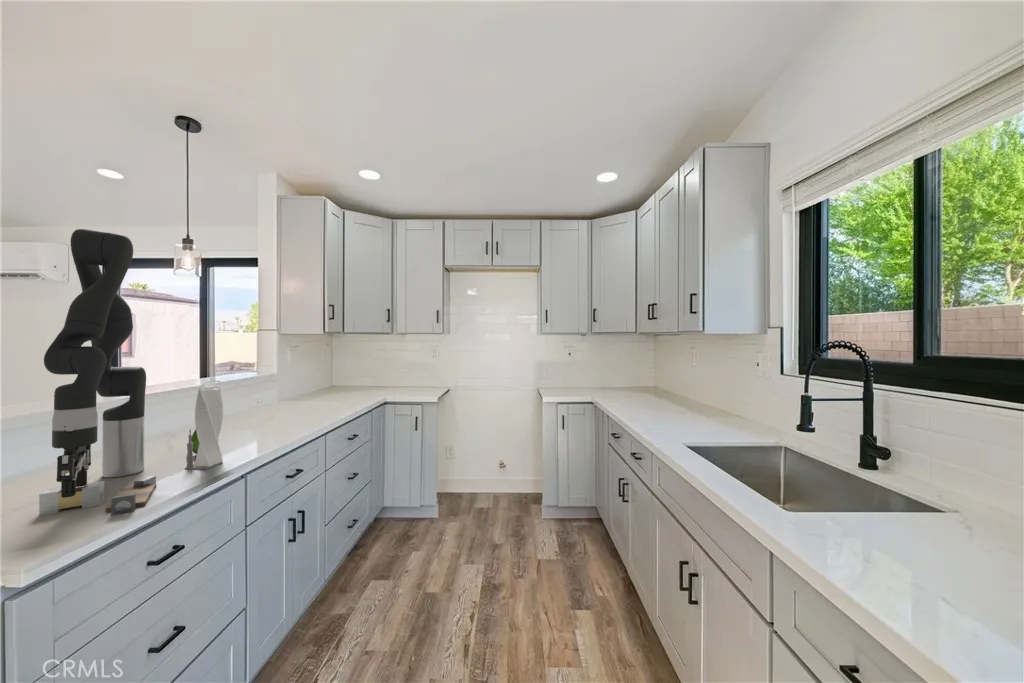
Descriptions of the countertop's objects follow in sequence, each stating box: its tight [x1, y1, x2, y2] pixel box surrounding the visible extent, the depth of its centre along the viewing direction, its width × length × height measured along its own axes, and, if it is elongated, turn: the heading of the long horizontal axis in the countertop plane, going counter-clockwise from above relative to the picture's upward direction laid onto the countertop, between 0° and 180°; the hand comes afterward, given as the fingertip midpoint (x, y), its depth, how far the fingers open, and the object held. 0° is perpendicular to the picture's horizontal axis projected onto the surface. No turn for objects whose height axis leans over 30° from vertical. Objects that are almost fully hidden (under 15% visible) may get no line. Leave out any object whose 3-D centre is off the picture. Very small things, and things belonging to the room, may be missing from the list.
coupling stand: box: [105, 475, 157, 516], centre depth 102 cm, size 21×7×4 cm, turn 35°
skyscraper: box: [184, 380, 224, 471], centre depth 128 cm, size 8×8×28 cm
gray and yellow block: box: [38, 480, 105, 516], centre depth 96 cm, size 4×10×5 cm, turn 125°
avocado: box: [191, 428, 199, 455], centre depth 140 cm, size 8×8×12 cm
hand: (74, 491), depth 96 cm, fingers open, 8 cm apart
